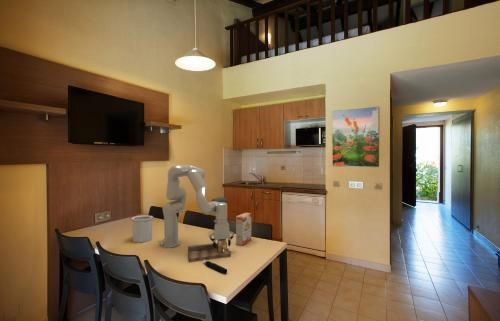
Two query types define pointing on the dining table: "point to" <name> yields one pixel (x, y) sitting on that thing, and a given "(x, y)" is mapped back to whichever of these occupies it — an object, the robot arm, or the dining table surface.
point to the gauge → (222, 245)
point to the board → (206, 252)
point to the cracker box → (243, 228)
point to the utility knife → (215, 266)
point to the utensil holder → (142, 228)
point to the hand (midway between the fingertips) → (221, 246)
